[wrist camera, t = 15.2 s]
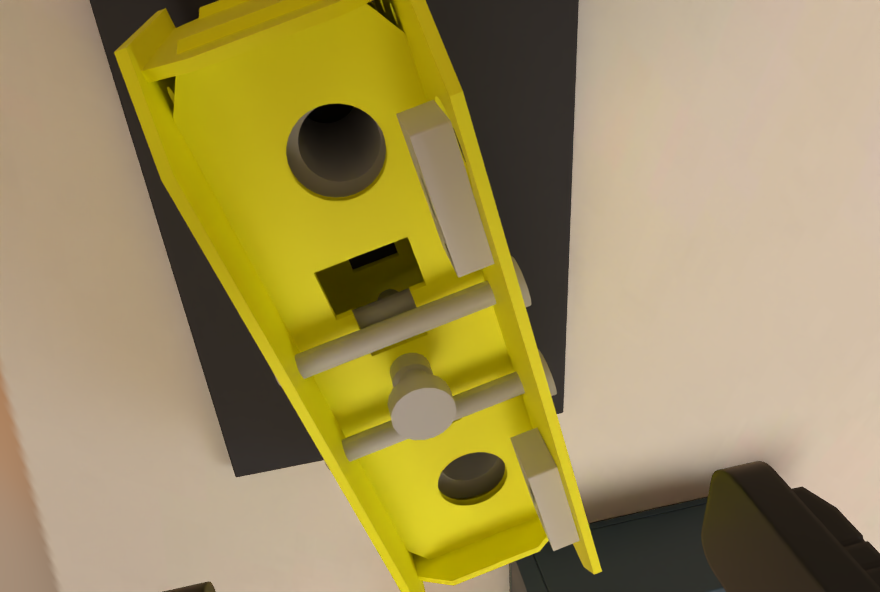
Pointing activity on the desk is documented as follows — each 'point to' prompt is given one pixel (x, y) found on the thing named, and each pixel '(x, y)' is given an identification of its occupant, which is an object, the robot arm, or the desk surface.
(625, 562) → the bin
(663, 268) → the desk surface
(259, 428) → the mat
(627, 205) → the desk surface
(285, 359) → the yellow toy chassis
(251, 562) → the desk surface
